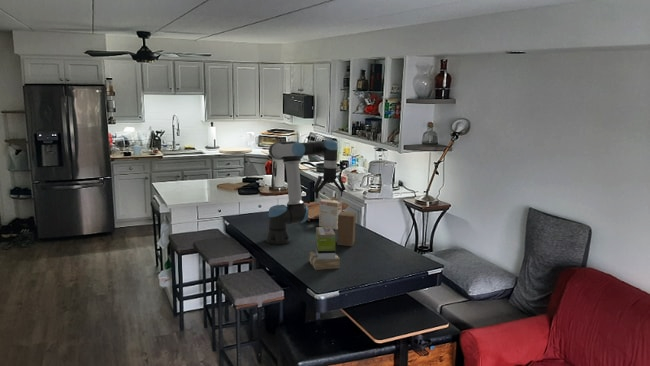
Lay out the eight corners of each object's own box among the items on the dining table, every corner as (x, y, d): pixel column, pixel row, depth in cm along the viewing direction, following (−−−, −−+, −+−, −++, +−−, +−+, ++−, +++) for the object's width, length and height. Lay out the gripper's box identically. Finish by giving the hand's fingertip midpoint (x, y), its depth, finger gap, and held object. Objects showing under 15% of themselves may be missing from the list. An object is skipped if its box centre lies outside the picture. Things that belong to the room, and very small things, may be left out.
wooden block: (352, 246, 321) (353, 216, 317) (337, 245, 323) (338, 215, 319) (354, 241, 331) (355, 212, 327) (339, 240, 333) (340, 211, 329)
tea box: (315, 251, 294) (315, 226, 291) (332, 250, 295) (332, 226, 292) (317, 259, 279) (318, 234, 276) (335, 259, 280) (336, 234, 277)
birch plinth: (309, 261, 293) (309, 252, 291) (332, 260, 296) (332, 250, 295) (315, 270, 279) (315, 260, 278) (339, 268, 283) (339, 258, 282)
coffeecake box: (341, 227, 363) (342, 201, 359) (336, 229, 357) (337, 203, 353) (323, 224, 370) (324, 198, 367) (318, 226, 364) (319, 200, 361)
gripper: (312, 169, 282) (311, 205, 287) (352, 167, 292) (350, 202, 297) (307, 166, 289) (306, 202, 294) (346, 165, 299) (344, 199, 304)
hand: (328, 202), depth 295 cm, fingers open, 13 cm apart
